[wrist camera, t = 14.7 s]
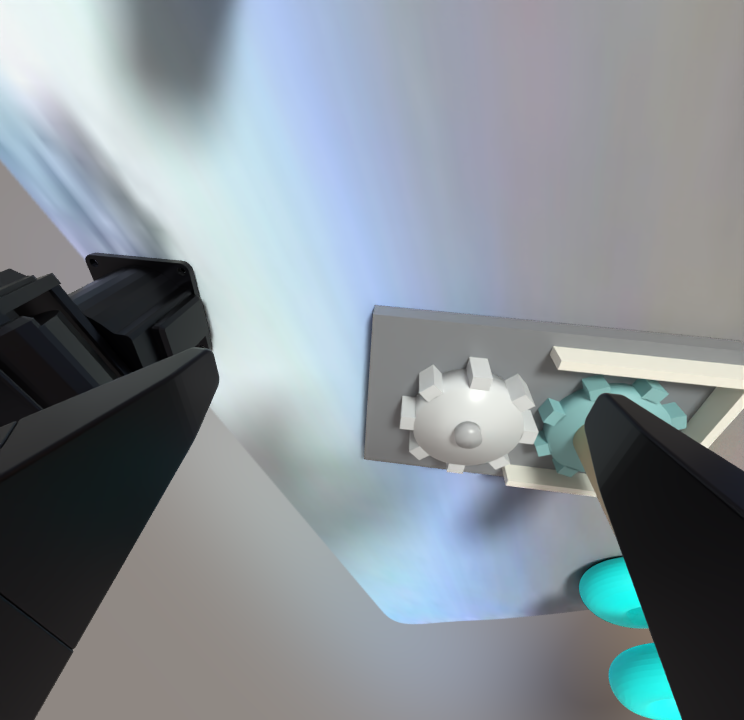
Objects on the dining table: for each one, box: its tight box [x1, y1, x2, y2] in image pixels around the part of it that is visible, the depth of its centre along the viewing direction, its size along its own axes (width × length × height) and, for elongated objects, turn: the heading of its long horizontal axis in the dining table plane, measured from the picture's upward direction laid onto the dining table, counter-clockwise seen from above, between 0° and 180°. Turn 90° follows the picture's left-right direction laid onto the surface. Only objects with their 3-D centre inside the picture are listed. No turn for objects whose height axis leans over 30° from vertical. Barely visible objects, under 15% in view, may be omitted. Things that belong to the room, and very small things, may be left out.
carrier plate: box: [364, 305, 744, 497], centre depth 23 cm, size 21×13×4 cm, turn 87°
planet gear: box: [534, 374, 687, 537], centre depth 18 cm, size 8×8×13 cm
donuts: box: [579, 557, 682, 720], centre depth 32 cm, size 10×10×10 cm
